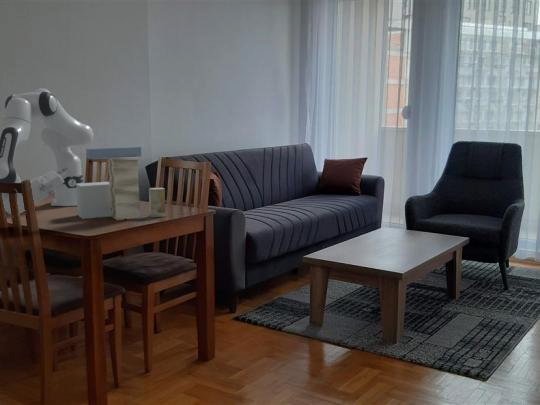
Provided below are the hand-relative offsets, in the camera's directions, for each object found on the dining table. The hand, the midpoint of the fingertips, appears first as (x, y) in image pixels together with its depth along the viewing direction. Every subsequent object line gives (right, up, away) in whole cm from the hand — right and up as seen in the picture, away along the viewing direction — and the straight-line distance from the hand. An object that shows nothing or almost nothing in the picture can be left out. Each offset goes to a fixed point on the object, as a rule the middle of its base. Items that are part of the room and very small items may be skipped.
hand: (68, 169), depth 253 cm
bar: (+17, +6, +8) cm, 19 cm away
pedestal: (+20, -20, +13) cm, 31 cm away
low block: (+6, -19, +19) cm, 27 cm away
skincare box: (+33, -20, +16) cm, 42 cm away
